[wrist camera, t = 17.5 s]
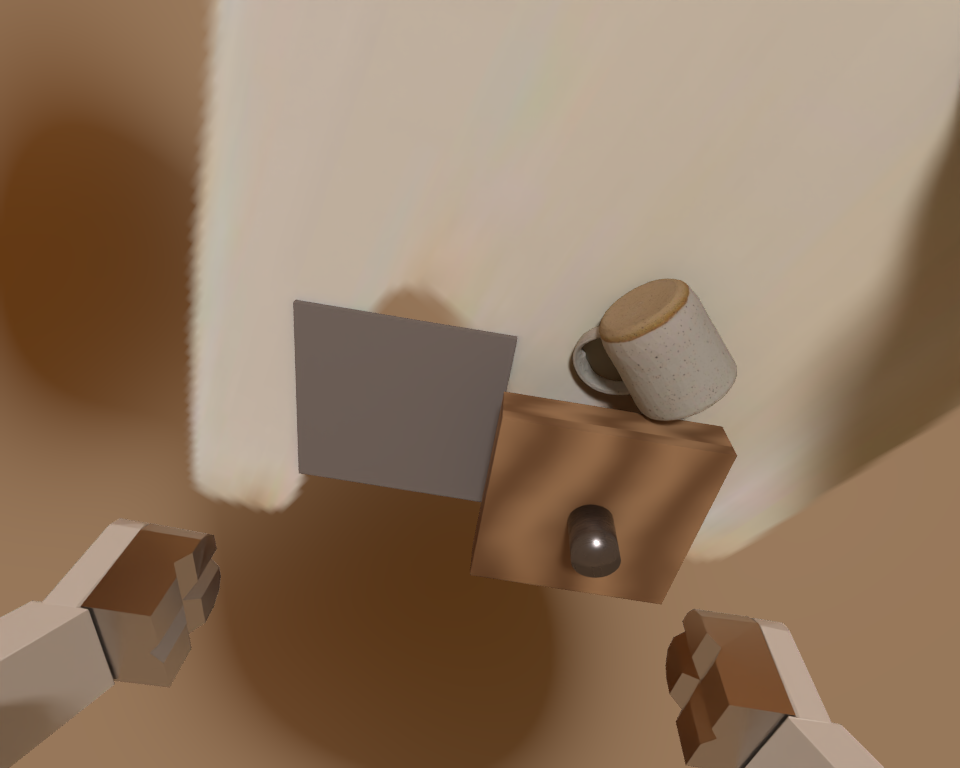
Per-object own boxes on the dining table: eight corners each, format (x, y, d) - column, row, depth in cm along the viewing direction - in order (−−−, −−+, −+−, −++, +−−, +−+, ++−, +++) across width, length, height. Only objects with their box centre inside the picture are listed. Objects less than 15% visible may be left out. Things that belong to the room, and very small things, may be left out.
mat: (517, 336, 45) (517, 339, 44) (483, 498, 54) (482, 502, 54) (295, 299, 45) (293, 302, 44) (300, 469, 54) (298, 472, 54)
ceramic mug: (675, 257, 41) (701, 299, 34) (721, 340, 44) (753, 393, 37) (551, 329, 45) (553, 379, 38) (602, 400, 48) (612, 458, 41)
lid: (722, 426, 43) (756, 494, 36) (653, 572, 52) (671, 646, 45) (504, 391, 42) (500, 453, 36) (472, 544, 51) (465, 615, 45)
